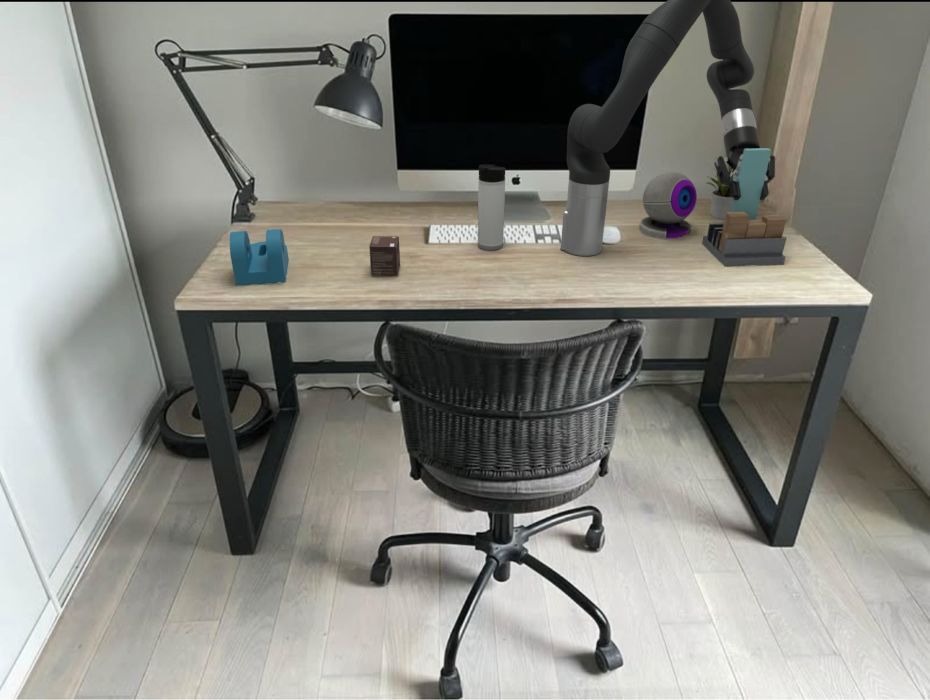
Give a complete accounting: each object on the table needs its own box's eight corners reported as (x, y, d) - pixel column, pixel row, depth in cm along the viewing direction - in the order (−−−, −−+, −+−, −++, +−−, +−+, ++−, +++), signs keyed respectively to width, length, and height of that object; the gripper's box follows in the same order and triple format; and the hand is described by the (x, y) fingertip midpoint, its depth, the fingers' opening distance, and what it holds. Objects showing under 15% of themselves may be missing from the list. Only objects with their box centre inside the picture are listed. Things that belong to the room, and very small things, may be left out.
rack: (701, 243, 170) (706, 220, 167) (756, 242, 171) (762, 219, 168) (724, 266, 158) (729, 241, 155) (783, 264, 159) (789, 240, 156)
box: (374, 265, 158) (372, 235, 154) (400, 266, 158) (399, 235, 154) (370, 276, 153) (368, 245, 149) (397, 277, 153) (396, 246, 149)
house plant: (762, 215, 187) (775, 155, 179) (741, 229, 178) (755, 166, 170) (712, 204, 195) (723, 146, 187) (690, 216, 187) (700, 156, 178)
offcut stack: (718, 249, 161) (726, 212, 157) (772, 247, 162) (781, 210, 158) (723, 253, 159) (731, 216, 154) (778, 252, 160) (787, 215, 155)
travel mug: (471, 246, 168) (471, 164, 158) (489, 239, 172) (490, 159, 162) (490, 253, 164) (492, 170, 154) (508, 245, 168) (511, 164, 158)
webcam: (664, 242, 170) (674, 183, 163) (628, 227, 180) (635, 170, 172) (700, 232, 176) (711, 174, 169) (663, 218, 186) (671, 162, 178)
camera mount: (285, 283, 150) (279, 237, 145) (236, 286, 149) (227, 240, 143) (289, 251, 165) (284, 209, 160) (244, 254, 164) (237, 212, 158)
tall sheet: (725, 240, 166) (744, 148, 155) (747, 239, 167) (768, 148, 155) (727, 242, 165) (747, 150, 154) (750, 242, 165) (771, 150, 154)
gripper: (716, 125, 159) (727, 191, 154) (777, 124, 159) (789, 190, 155) (704, 142, 166) (714, 206, 162) (762, 141, 167) (773, 205, 163)
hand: (750, 198), depth 159 cm, fingers closed on tall sheet, 5 cm apart
